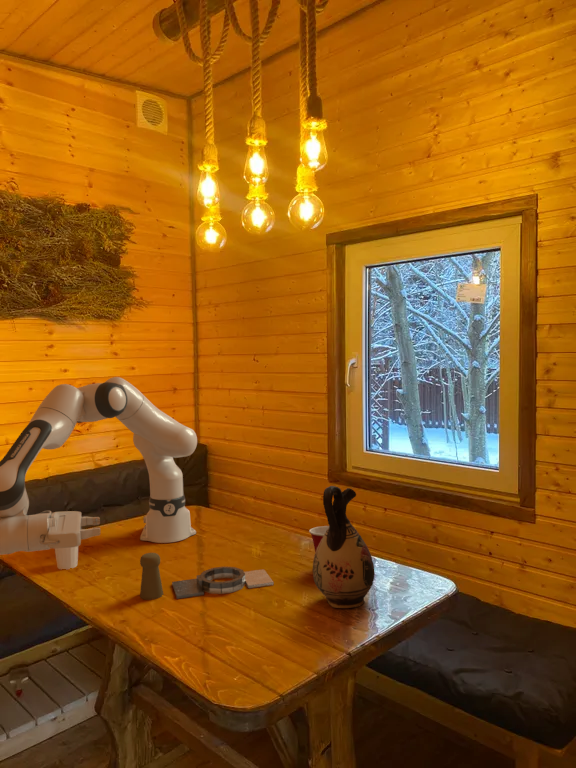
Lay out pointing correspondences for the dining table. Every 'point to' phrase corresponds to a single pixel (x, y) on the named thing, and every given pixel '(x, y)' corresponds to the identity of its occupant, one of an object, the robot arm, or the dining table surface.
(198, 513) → the dining table surface
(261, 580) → the ring
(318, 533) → the plastic cup
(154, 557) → the cork
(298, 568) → the dining table surface
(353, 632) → the dining table surface
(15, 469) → the robot arm
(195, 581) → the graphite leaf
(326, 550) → the ceramic jug
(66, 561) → the shot glass
